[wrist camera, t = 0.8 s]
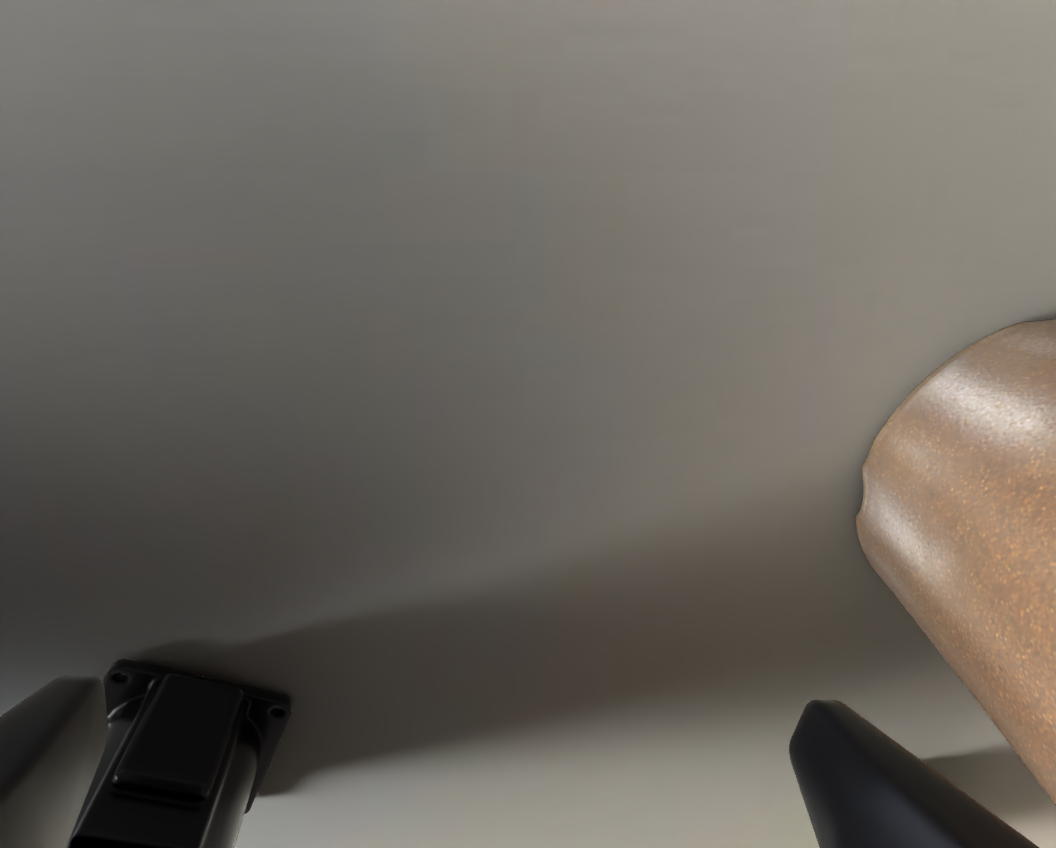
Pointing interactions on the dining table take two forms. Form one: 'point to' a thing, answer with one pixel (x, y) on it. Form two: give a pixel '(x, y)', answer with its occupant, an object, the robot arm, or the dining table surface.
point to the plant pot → (978, 526)
